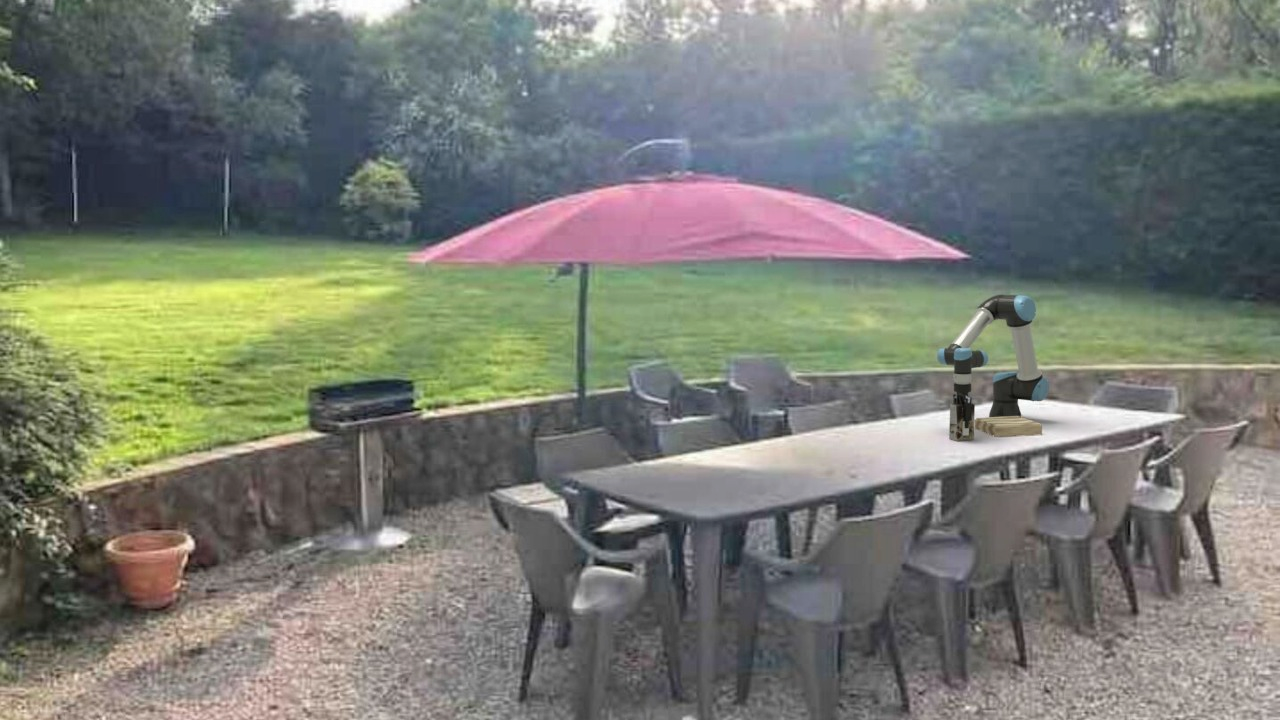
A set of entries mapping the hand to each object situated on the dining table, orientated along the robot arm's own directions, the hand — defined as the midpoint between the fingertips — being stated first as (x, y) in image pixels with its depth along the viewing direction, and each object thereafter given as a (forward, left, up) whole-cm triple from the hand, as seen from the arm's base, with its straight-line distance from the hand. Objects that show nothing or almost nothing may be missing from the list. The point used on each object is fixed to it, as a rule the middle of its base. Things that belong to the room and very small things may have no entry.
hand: (961, 433), depth 495 cm
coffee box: (0, 0, -3) cm, 3 cm away
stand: (-12, +28, -3) cm, 31 cm away
